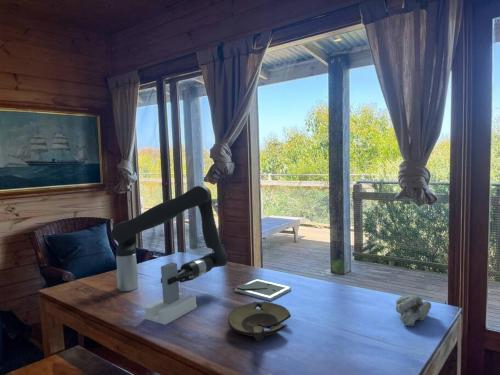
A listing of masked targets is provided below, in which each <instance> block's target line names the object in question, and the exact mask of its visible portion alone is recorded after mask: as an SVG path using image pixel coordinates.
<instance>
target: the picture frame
mask: <svg viewBox="0 0 500 375" xmlns="http://www.w3.org/2000/svg"><path fill="white" fill-rule="evenodd" d="M291 291H292V287H290V286H288V285H284V284H283V285H282V284H279V283H275V282H271V281H266V280H261V279H257V278H256V279H254V280H251V281H248V282H247V283H244V284H243V283H241V284H238V285H236V286H235V287H234V292H235V293H240V294H243V295H246V296H250V297H254V298H256V299H257V298H258V299H260V300H261V299H262V300H264V301H267V302H271V301H273V300H275V299H277V298H279V297H282V296H283V295H285V294H287V293H289V292H291Z"/></svg>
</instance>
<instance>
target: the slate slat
mask: <svg viewBox="0 0 500 375" xmlns="http://www.w3.org/2000/svg"><path fill="white" fill-rule="evenodd" d="M177 270H178V263H177V262H172V263H171V262H169V263H166V264H164V265H161V266H160V274H161V278H162V283H161V285H162V299H163V302H164V303H165V304H171V303H173V302H175V301H177V300H179V299H180V298H179V293H180V287H179V284H180V283H179V282H177V283H176V282H175V283H172V284H170V285H168V284H167V280H168V279H170V278H172V277H175V276H176V275H178V271H177Z"/></svg>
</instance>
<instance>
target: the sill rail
mask: <svg viewBox="0 0 500 375" xmlns="http://www.w3.org/2000/svg"><path fill="white" fill-rule="evenodd" d="M179 298H180V299H179V300H177V301H175V302H173V303H171V304H165V303H164V302H163V298H161V299H160V300H157V301H156V302H152V303H151V304H149V305H146V306H145V307H144V312H145V313H144V314H145V316H144V317H145V320H148V321H151V322H154V323H157V324H158V323H159V324H161V325H165V326H166V325H167V324H168V325H169V323H171V322H173V321H175V320H177V319H178V318H180V317H182V316H184V315H185V314H187V313H189V312H191V311H193V310H195V309H197V307H198V306H197V296H196V295H193V294H189V295H188V296H186V297H183V293H182V292H179Z"/></svg>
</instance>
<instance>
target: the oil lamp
mask: <svg viewBox="0 0 500 375" xmlns="http://www.w3.org/2000/svg"><path fill="white" fill-rule="evenodd" d="M258 308H259V309H258ZM291 317H292V316H291V313H290V311H289V309H288V308H286V307H285V306H283V305H281V304H277V303H274V302H271V301H266V300H264V301H254V302H253V301H252V302H250V303H246V304H243V305H240V306H238V307H236V308H234V309H233V310H232V311H230V313H229V315H228V317H227V322H228V325H229V327H230V328H231V329H232V330H233V331H235V332H237V333H239V334H242V335H246V336H249V337H253V338H255V340H256V341H257V342H261V341H264V338H265V337H268V336H271V335H274V334H276V333H279V332H280V331H282V330H283V329H285V328H286V327H287V326H288V324H282V323H283V322H286V321H287V320H288V319H290V318H291ZM265 328H270V329H269V330H265Z"/></svg>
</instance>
